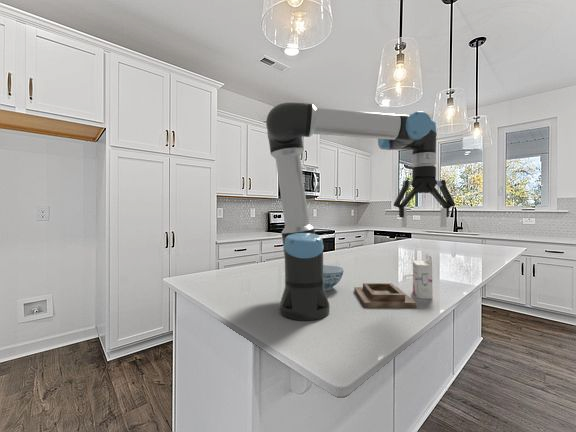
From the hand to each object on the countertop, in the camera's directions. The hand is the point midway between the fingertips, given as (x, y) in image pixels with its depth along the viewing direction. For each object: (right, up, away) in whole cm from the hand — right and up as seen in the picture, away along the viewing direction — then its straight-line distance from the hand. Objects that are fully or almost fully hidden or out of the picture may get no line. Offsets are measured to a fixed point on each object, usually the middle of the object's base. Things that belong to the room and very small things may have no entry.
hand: (423, 226), depth 102 cm
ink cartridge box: (0, -25, +1) cm, 25 cm away
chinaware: (-34, -25, +12) cm, 43 cm away
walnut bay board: (-15, -25, -2) cm, 29 cm away
